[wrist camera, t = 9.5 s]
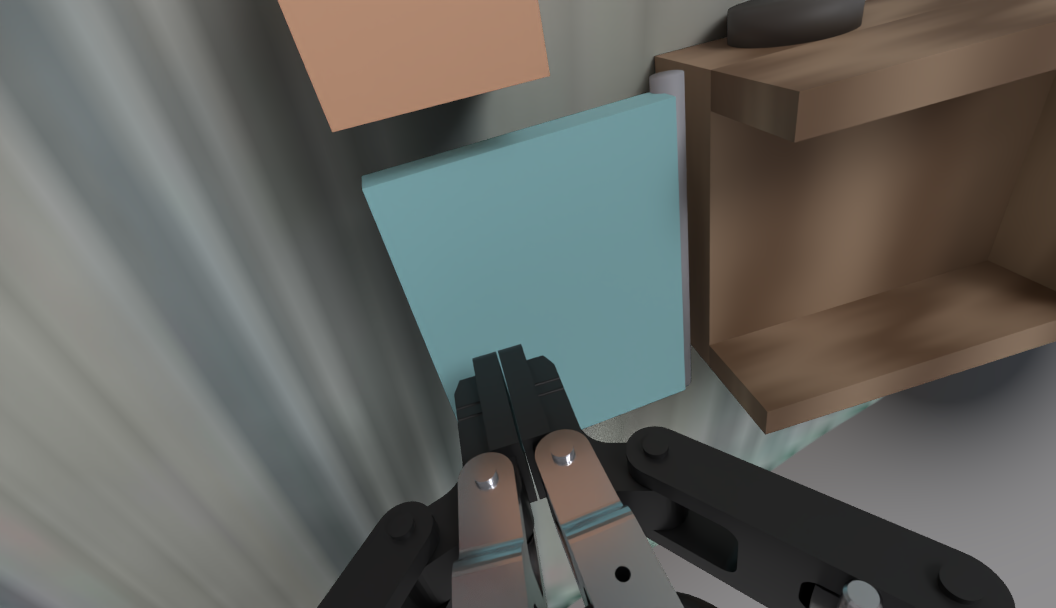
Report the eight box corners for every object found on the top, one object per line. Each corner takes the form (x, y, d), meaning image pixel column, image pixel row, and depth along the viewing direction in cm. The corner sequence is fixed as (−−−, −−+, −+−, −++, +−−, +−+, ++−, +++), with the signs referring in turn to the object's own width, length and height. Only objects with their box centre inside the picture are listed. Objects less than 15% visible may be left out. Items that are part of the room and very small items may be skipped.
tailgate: (700, 73, 14) (356, 174, 13) (702, 389, 21) (479, 475, 19) (672, 68, 15) (356, 159, 14) (683, 368, 22) (472, 447, 21)
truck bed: (1100, -91, 19) (1562, -148, 11) (985, 236, 27) (1213, 331, 19) (652, 25, 18) (837, 48, 10) (669, 332, 25) (780, 473, 18)
